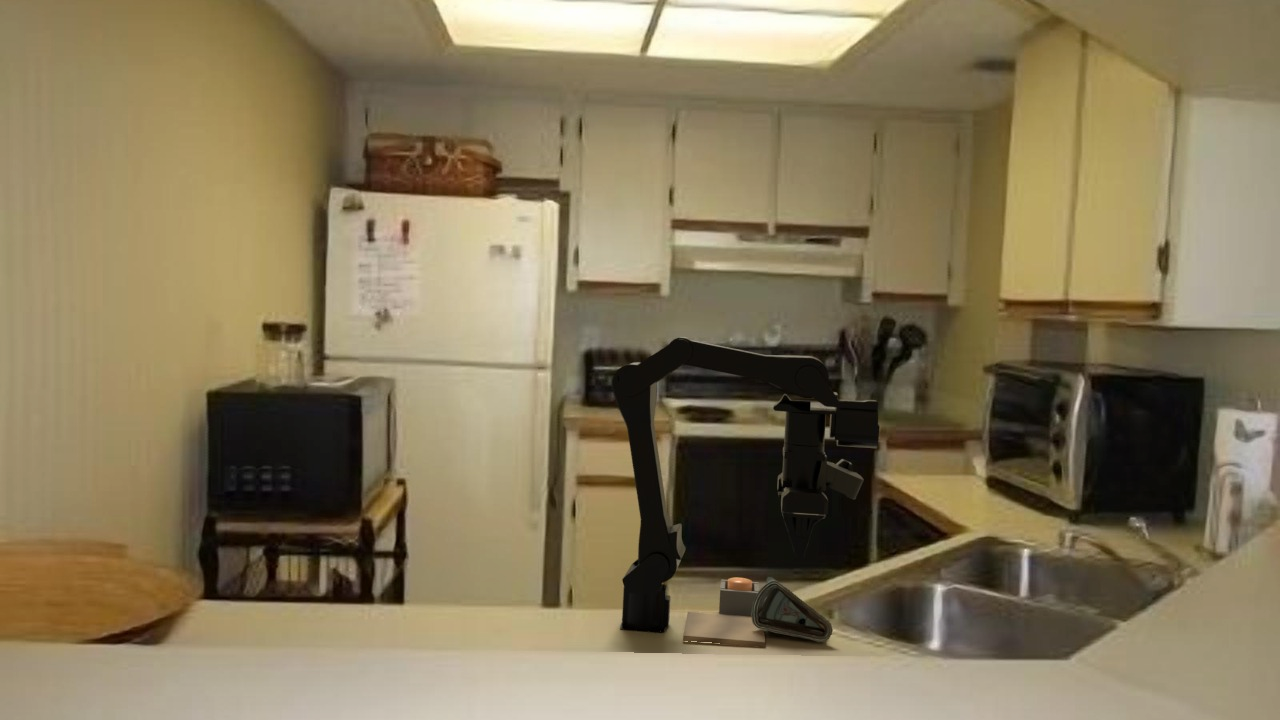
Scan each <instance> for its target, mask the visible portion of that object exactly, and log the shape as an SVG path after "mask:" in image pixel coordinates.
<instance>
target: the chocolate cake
mask: <svg viewBox="0 0 1280 720" xmlns="http://www.w3.org/2000/svg"><path fill="white" fill-rule="evenodd" d="M752 607H753V608H752V613H751V616H752V623H753V625H755V626H756V627H757V628H759V629H763V630H764V632H766V631H769V632H771V633H776V634H781V635H786V636H789V637H790V636H791V637H795V638H801V639H805V640H811V641H815V642H818V643H825V642H827V641H829V640H830V638H831V636H832V635H833V632H834V631H833V630H834V629H833V626H832V623H831V622H830V620H828V619H827V618H826V617H825V616H824V615H822V614H820V613H818V612H817V611H816V610H815V609H814V608H813V607H812V606H810V605H808V604H807V602H805V601H803V599H801V598H800V597H798V595H796V594H795V593H793V592H792V591H791V590H790V589H789V588H787V587H786V586H784V585H783V584H781V583H780V582H779V581H778V580H776V579H775V578H774V577H772V576H767V577H766V580H765V584H764V585H763V586H762V587H761V588H759V592H758V593H757V595H756V598H755V600H754V602H753V606H752Z"/></svg>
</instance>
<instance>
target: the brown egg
mask: <svg viewBox="0 0 1280 720" xmlns="http://www.w3.org/2000/svg"><path fill="white" fill-rule="evenodd" d="M727 580H728V588H727V589H729V590H742V591H752V582H753V581H752V580H751V579H749V578H744V577H730V578H728V579H727Z"/></svg>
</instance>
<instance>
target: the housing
mask: <svg viewBox="0 0 1280 720" xmlns="http://www.w3.org/2000/svg"><path fill="white" fill-rule="evenodd" d="M759 583H760V582H758V581H752V591H742V590H729V589H727V588H728V579H720V587H719V588H720V589H719V609H718V614H723V615H736V616H748V617H752V616H751V613H752V608H753V607H752V606H753V602H754V600H755V598H756V595H757V593H758V592H759V591H760V584H759Z"/></svg>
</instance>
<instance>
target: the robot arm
mask: <svg viewBox="0 0 1280 720" xmlns="http://www.w3.org/2000/svg"><path fill="white" fill-rule="evenodd" d="M669 342H670V343H669V344H667V345H666V346H664V347H663V348H662V349H660V350H658V351H657V352H655V353H653V354H652V355H650V356H649V357H646V359H644V360H643V361H641V362H640V361H639V362H635V361H634V362H632V363H629V364H625V365H622V366H621V367H619V368H618V369H617V370H616V372H615V373H614V374H613V376H612V379H611V389H612V392H613V395H614V400H615V402H616V405H617V408H618V411H619V413H620V415H621V417H622V419H623V422H624V424H625V426H626V429H627V430H626V431H627V435H628V442H629V449H630V455H631V456H630V457H631V462H632V468H633V469H632V470H633V476H634V477H633V478H634V482H635V483H634V484H635V489H636V490H635V491H636V496H637V502H638V510H639V518H640V525H639V526H640V527H639V535H638V547H637V548H638V549H637V552H638V554H637V559H636V560H635V561H633V562H632V563H631V564H630V566H629V568H628V570H627V571H626V573H625V574H624V576H623V577H622V579H621V581H622V583H623V584H622V585H623V593H622V594H623V597H622V613H621V624H620V626H619V630H621V631H627V632H628V631H629V632H642V633H654V634H664V632H665V631H666V628H668V627H669V626H670V618H671V617H670V614H671V600H672V599H671V597H672V596H671V595H669V594H668V584H666V582H668V581H669V580H671V579H672V578H673V577H674V576H675V574H676V572H677V570H678V568H679V566H680V564H681V560H682V558H683V556H684V553H685V552H686V548H687V547H686V546H685V544H684V541H683V538H682V534H683V533H682V530H683V528H682V527H683V526H682V523H677V524H674V525H673V523H672V521H671V520H672V519H670V517H669V516H670V515H669V513H668V508H667V501H666V495H665V490H664V489H665V488H664V482H663V473H662V469H661V468H662V467H661V461H660V454H659V453H660V452H659V448H658V447H659V446H658V440H657V435H656V434H657V433H656V427H655V417H656V406H657V405H656V403H657V385H658V384H657V383H658V382H660V381H661V380H663V379H665V378H666V377H667V376H669V375H670V374H672V373H673V372H675V371H677V370H678V369H680V368H681V367H682V366H690V367H691V366H692V367H694V368H695V367H696V368H701V369H705V370H711V371H713V372H714V371H715V372H720V373H724V374H729V375H735V376H738V377H744V378H749V379H752V380H758V381H762V382H765V383H766V384H769V385H772V386H774V387H776V388H777V389H781V390H782V391H785V392H788V393H790V394H793V395H795V396H798V397H801V398H804V399H815V400H816V401H817V402H819V403H820V404H821V405H822V406H824V407H826V408H823V407H822V408H821V407H812V406H811V405H812V404H811V400H803V399H802V400H801V399H791V398H790V397H789V395H788V394H786V393H784V394H783V395H782V397H781V398H780V399H779V401H777V402H776V403H774V404H773V407H772V409H773V411H774V412H785V422H784V440H783V442H784V443H783V447H782V456H783V458H782V472H781V473H780V474H778V476H777V485H776V486H777V494H778V495H777V496H778V498H779V502H780V508H781V509H780V510H781V515H782V518H783V522H784V525H785V527H786V531H787V533H788V537H789V540H790V543H791V545H792V546H791V547H792V549H793V553H794V557H795V558H796V559H799V560H800V559H801V560H803V559H805V556H806V552H807V549H808V546H809V543H810V538H811V535H812V533H813V529H814V526H815V525H816V524H817V523H818V522H820V521H821V520H823V519H825V518H826V517H827V515H828V514H829V502H830V501H829V499H828V497H827V495H826V494H825V493H824V492H823V491H826V490H827V488H829V489H831V490H834V491H836V492H838V493H840V494H843V495H845V497H846V498H849V499H852V500H856V499H857V496H858V494H859V491H860V489H861V487H862V485H863V483H864V478H863V477H862V475H861V474H858V472H855V471H854V470H853V464H852V462H850V461H848V460H846V459H844V458H841V459H840V460H839V461H838V462H836V463H834V462H831V461H828V456H827V455H826V452H825V439H826V423H827V421H826V419H827V415H830V417H829V437H828V438H829V439H834V441H836V446H837V447H852V448H853V447H854V448H868V449H869V448H870V449H878V445H879V440H880V439H879V437H880V424H879V402H878V401H877V400H876V399H875V400H874V399H865V400H854V399H853V400H852V399H839V394H838V392H835V391H833V389H832V388H831V386H830V384H829V382H830V381H829V380H830V379H829V378H830V376H829V371H828V368H827V367H826V366H825V364H824V363H823V362H822V361H821V360H820V359H819V358H817V357H815V356H812V355H788V354H787V355H786V354H785V355H784V354H783V355H781V354H779V355H774V354H763V353H758V352H754V351H753V352H752V351H747V350H743V349H738V348H734V347H733V348H732V347H727V346H724V345H723V346H722V345H718V344H712V343H708V342H702V341H698V340H693V339H691V338H689V337H687V336H680V337H675V338H674V339H672V340H671V341H669ZM663 583H665V584H663Z"/></svg>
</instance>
